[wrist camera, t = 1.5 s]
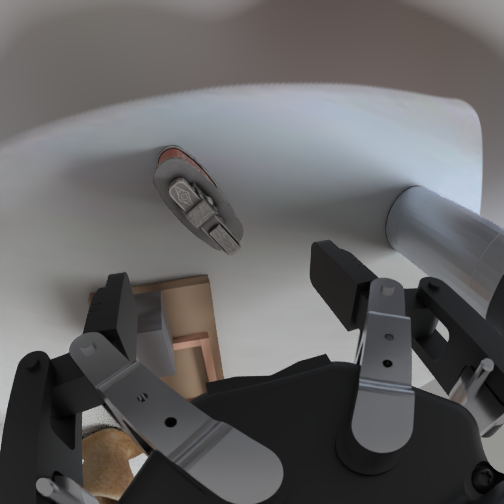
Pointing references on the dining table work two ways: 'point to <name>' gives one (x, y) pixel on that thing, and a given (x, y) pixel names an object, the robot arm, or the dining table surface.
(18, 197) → the dining table surface
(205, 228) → the lighter
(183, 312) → the rail
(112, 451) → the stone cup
